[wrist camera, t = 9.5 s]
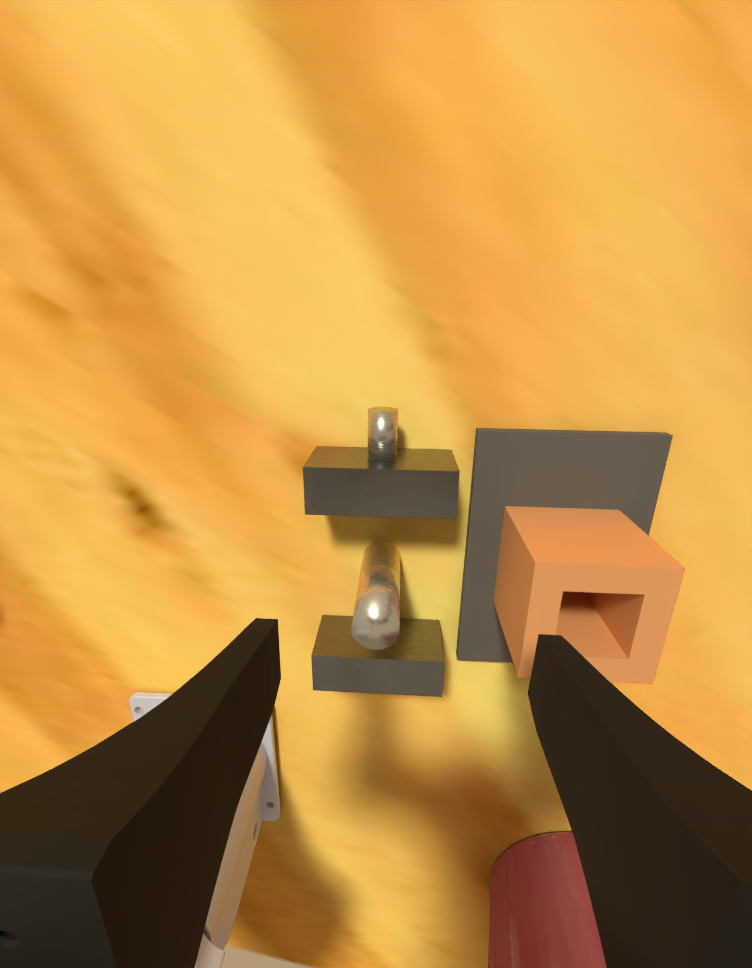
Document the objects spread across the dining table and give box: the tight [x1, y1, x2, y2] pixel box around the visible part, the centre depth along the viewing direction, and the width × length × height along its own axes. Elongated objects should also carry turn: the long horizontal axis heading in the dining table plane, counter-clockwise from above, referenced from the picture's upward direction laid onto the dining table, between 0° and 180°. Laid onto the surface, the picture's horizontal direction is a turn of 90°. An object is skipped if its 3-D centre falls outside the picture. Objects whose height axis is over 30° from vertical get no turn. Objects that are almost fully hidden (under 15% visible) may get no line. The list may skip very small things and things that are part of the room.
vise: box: [303, 407, 459, 697], centre depth 19 cm, size 13×6×6 cm, turn 179°
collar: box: [493, 506, 685, 684], centre depth 19 cm, size 5×5×5 cm
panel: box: [456, 428, 673, 662], centre depth 21 cm, size 12×8×1 cm, turn 179°
